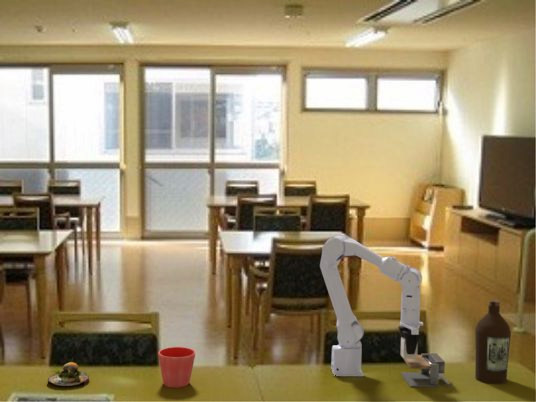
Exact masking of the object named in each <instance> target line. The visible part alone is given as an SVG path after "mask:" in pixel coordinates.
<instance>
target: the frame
mask: <svg viewBox="0 0 536 402" xmlns="http://www.w3.org/2000/svg"><path fill="white" fill-rule="evenodd" d="M420 355H421V357H422V358H425V360H426V361H427V362H428V363H429V364H430V369H420V372H421V374H430V382H429V384H430V385H439V380H440V381H441V382H442V383H443V384H444V385H445V387H447V388H448V387H449V388H450V387H451V383H450V381H449V380H448V379H447V377H445V376H444V375H443V373H439V364H432V363H431V362H430V361H429V360H428V355H429V353H421V354H420Z"/></svg>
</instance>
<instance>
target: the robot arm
mask: <svg viewBox="0 0 536 402" xmlns="http://www.w3.org/2000/svg"><path fill="white" fill-rule="evenodd" d="M346 256H357V257H359V258H361V259H362V260H365V261H366V262H368V263H370V264H372V265H375V266H376V267H378V270H379V273H381V274H382V275H385V276H386V277H388V278H389V279H392V280H393V281H395V282H397V283H399V284H400V286H401V295H400V297H401V298H400V299H401V301H400V321H399V326H397V329H398V330H399V333H400V338H401V337H405V342H406V350H407V354H415V350H416V346H417V343H418V344H419V341H420V338H421V337H422V332H421V331H419V330H420V326H421V327H422V326H424V322H423V321H420V318H421V317H420V316H421V283H422V282H423V281H422V280H423V275H422V272H420V271H419V270H418V269H417V268H416V267H411V265H409V264H407V265H406V264H404V263H403V262H400V261H398V260H397V257H396V256H390V255H389V256H385V257H383V256H382V255H379V254H378V253H377V252H375V251H373V250H372V249H370V248H368V247H367V246H365V245H364V244H362V243H361V242H358V241H357V240H355V239H353V238H351V237H349V236H347V235H344V234H338V235H335V237H330V238H328V239H327V240H326V241H325V243H324V244H323V245H322V247H321V258H320V263H319V268H320V271H321V274H322V277H323V280H324V283H325V286H326V289H327V292H328V295H329V298H330V300H331V303H332V304H331V305H332V307H333V310H334V313H335V316H336V329H337V341H338V344H337V345H335V344H334V345H332V346H331V362H330V370H331V369H332V370H331V372H332V374H334V375H333V376H334V377H364V372H363V370H362V346H363V345H362V342H361V339H363V337H364V334H365V333H364V328H363V326H362V325H361V324H360V323H359V321H358V319H357V317H356V316H355V314H354V313H353V310H352V308H351V304H350V302H349V299H348V296H347V292H346V290H345V287H344V284H343V281H342V278H341V275H340V271H339V269H338V266H339V264H340V262H341V260H342V258H343V257H346ZM335 375H336V376H335Z"/></svg>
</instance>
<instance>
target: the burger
mask: <svg viewBox="0 0 536 402" xmlns="http://www.w3.org/2000/svg"><path fill="white" fill-rule="evenodd" d="M71 358H72V359H71V360H73V357H71ZM89 382H90V376H89V374H88V373H86V372H82V371H81V370H79V365H78V364H77V363H76V362H73V361H70V362H68V363H65V364H64V365H63V366H62V370H61V371H59V370H57V371H56V370H55V373H54V374H52V375H50V376H49V377H48V378H47V383H48V384H49V383H51V384H53V385H56V386H61V387H66V386H67V387H69V386H76V385H80V384H82V383H83V385H84V386H87V384H89Z"/></svg>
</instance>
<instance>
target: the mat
mask: <svg viewBox="0 0 536 402" xmlns="http://www.w3.org/2000/svg"><path fill="white" fill-rule="evenodd" d="M401 374H402V375H401ZM400 375H401V377H402V378H403V379H404V380H405V382H406V384H408V387H410V388H440V384H438V385H430V384H429V382H430V373H429V374H421V371H420V372H418V371H417V372H414V371H413V372H412V371H407V372H406V371H405V372H404V371H401V372H400Z"/></svg>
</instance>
